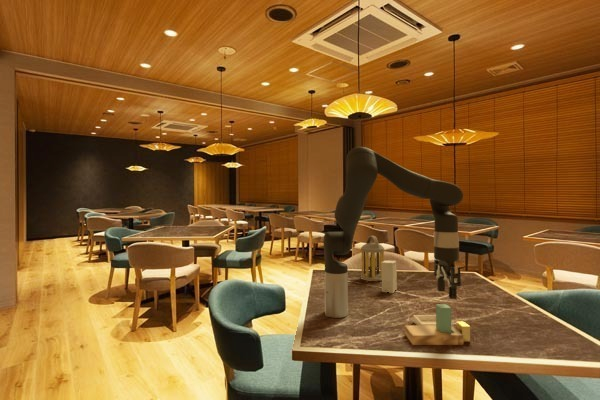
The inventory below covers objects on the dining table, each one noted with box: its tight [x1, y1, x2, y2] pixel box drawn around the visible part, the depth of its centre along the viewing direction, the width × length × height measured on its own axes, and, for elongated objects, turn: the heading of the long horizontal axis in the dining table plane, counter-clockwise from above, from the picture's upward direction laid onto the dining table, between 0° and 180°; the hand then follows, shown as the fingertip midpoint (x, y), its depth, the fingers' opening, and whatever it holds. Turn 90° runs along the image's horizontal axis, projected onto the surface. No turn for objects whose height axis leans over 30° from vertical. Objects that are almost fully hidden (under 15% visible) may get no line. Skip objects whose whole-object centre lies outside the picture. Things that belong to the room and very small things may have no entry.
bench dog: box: [455, 321, 471, 343], centre depth 106 cm, size 2×4×5 cm, turn 0°
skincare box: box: [381, 259, 398, 294], centre depth 162 cm, size 8×6×15 cm
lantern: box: [359, 235, 385, 280], centre depth 186 cm, size 14×14×25 cm
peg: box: [435, 303, 452, 333], centre depth 106 cm, size 4×4×11 cm
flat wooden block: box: [404, 324, 464, 346], centre depth 106 cm, size 16×8×3 cm, turn 89°
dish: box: [412, 314, 436, 325], centre depth 117 cm, size 10×9×2 cm
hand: (446, 294), depth 106 cm, fingers open, 8 cm apart
